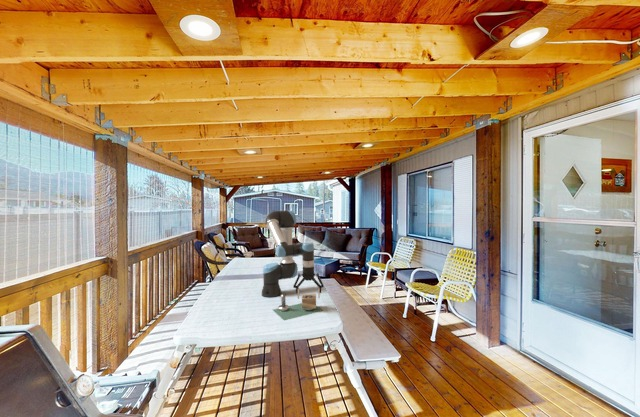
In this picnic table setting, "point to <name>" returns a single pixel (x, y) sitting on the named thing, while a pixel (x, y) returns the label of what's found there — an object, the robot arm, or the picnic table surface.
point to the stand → (283, 304)
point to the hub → (309, 308)
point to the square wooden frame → (309, 301)
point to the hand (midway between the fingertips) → (308, 297)
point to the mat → (295, 312)
